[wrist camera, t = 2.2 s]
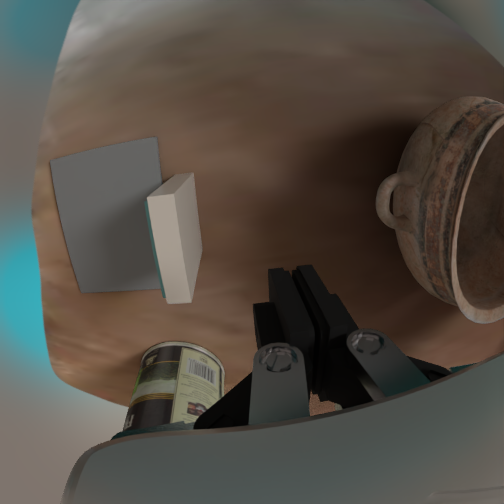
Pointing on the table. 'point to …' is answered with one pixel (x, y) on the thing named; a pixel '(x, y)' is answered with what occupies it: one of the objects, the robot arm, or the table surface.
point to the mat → (109, 214)
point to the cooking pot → (453, 206)
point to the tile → (175, 236)
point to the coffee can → (174, 385)
